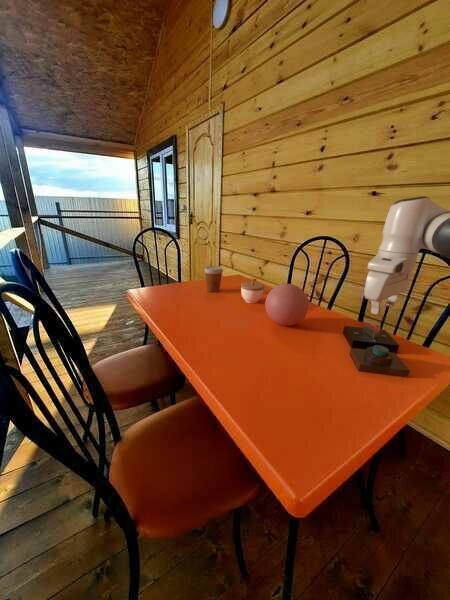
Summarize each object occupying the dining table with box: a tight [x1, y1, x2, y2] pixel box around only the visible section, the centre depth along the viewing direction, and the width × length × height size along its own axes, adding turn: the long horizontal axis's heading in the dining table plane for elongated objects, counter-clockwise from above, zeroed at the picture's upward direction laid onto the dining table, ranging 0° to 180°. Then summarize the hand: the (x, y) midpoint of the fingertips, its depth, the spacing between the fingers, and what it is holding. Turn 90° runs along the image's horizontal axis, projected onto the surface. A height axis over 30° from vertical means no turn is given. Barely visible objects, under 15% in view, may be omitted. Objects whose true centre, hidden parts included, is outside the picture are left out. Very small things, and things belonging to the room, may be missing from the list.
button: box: [372, 345, 388, 357], centre depth 70 cm, size 4×4×2 cm
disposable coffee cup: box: [203, 265, 224, 293], centre depth 131 cm, size 10×10×12 cm
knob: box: [362, 319, 381, 339], centre depth 82 cm, size 6×2×4 cm, turn 4°
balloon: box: [264, 283, 310, 327], centre depth 94 cm, size 15×20×15 cm
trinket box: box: [240, 280, 265, 304], centre depth 117 cm, size 11×11×9 cm
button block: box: [349, 347, 411, 379], centre depth 70 cm, size 12×9×4 cm
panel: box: [342, 325, 400, 355], centre depth 83 cm, size 13×11×3 cm
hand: (382, 309), depth 73 cm, fingers open, 8 cm apart
